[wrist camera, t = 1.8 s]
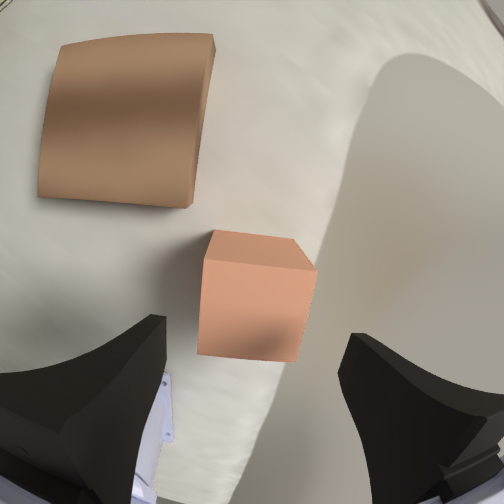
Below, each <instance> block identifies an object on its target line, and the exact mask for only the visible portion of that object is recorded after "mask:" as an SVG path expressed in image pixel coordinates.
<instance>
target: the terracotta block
mask: <svg viewBox="0 0 504 504" xmlns="http://www.w3.org/2000/svg"><path fill="white" fill-rule="evenodd" d="M317 274H318V271H317V270H316V268H315V267H314V266H313V264H312V263H311V262H310V260H309V259H308V258H307V256H306V255H305V254H304V252H303V251H302V250H301V248H300V247H299V246H298V244H297V243H296V242H295V240H294V239H288V238H280V237H272V236H264V235H256V234H248V233H239V232H231V231H222V230H214V232H213V235H212V238H211V240H210V243H209V246H208V249H207V251H206V254H205V257H204V263H203V275H202V287H201V300H200V315H199V330H198V348H197V354H200V355H208V356H217V357H226V358H237V359H248V360H262V361H279V362H296V360H297V356H298V352H299V348H300V345H301V341H302V337H303V333H304V329H305V325H306V321H307V317H308V313H309V309H310V304H311V300H312V296H313V291H314V287H315V283H316V278H317Z"/></svg>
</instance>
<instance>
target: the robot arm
mask: <svg viewBox="0 0 504 504" xmlns="http://www.w3.org/2000/svg"><path fill="white" fill-rule="evenodd" d="M166 360H167V354H166V316H159V315H153V314H150V315H149V316H147V317H146V318H144V319H143V320H141V321H140V322H139V323H137V324H136V325H134V326H133V327H131V328H130V329H128V330H127V331H125V332H124V333H122V334H121V335H119V336H118V337H116V338H114V339H113V340H111V341H109V342H107V343H106V344H104V345H102V346H101V347H99V348H97V349H95V350H93V351H91V352H88V353H86V354H84V355H82V356H79V357H77V358H74V359H71V360H68V361H65V362H62V363H59V364H56V365H53V366H49V367H44V368H40V369H35V370H29V371H23V372H12V373H0V504H157V503H156V497H157V491H155V490H153V489H152V487H153V484H154V480H155V475H156V470H157V466H158V461H159V456H160V452H161V447H162V442H169V443H170V442H173V439H174V436H173V422H172V405H171V380H170V375H169V374H168V373H166V372H164V369H165V365H166ZM338 377H339V381H340V386H341V389H342V393H343V396H344V398H345V400H346V403H347V406H348V408H349V411H350V413H351V415H352V418H353V420H354V423H355V425H356V428H357V430H358V433H359V435H360V438H361V441H362V445H363V449H364V453H365V457H366V461H367V467H368V472H369V477H370V485H371V493H372V504H504V455H503V456H502V457H501V458H499V457H498V455H497V453H499V451H500V447H499V446H498V442H499V441H500V440H501V439H502V438H503V436H504V395H503V394H495V393H488V392H483V391H479V390H474V389H471V388H467V387H463V386H461V385H458V384H455V383H452V382H450V381H447V380H445V379H442V378H440V377H438V376H436V375H434V374H431V373H429V372H427V371H426V370H424V369H422V368H420V367H418V366H417V365H415V364H413V363H411V362H410V361H408V360H407V359H405V358H403V357H402V356H400V355H399V354H397V353H396V352H394V351H393V350H391V349H390V348H388V347H387V346H385V345H383V344H382V343H381V342H379V341H377V340H376V339H374V338H372V337H371V336H369V335H367V334H365V333H351V336H350V339H349V342H348V345H347V348H346V350H345V354H344V356H343V359H342V362H341V364H340V368H339V370H338ZM162 381H164V382H166V383H164V382H162Z"/></svg>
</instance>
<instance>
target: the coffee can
mask: <svg viewBox="0 0 504 504" xmlns="http://www.w3.org/2000/svg"><path fill="white" fill-rule="evenodd" d="M11 1H12V0H0V11H1V10H2V9H3V8H4V7H6V6H7V5H8V4H9V3H10V2H11Z"/></svg>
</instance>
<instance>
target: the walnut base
mask: <svg viewBox="0 0 504 504" xmlns="http://www.w3.org/2000/svg"><path fill="white" fill-rule="evenodd" d="M215 52H216V49H215V43H214V38H213V34H204V33H156V34H139V35H127V36H117V37H109V38H102V39H95V40H89V41H83V42H78V43H73V44H68V45H63V46H61V48H60V52H59V55H58V59H57V62H56V66H55V70H54V74H53V78H52V82H51V86H50V91H49V96H48V101H47V106H46V112H45V118H44V124H43V131H42V139H41V148H40V159H39V172H38V197H52V198H68V199H83V200H96V201H109V202H121V203H132V204H143V205H154V206H164V207H174V208H183V209H186V208H187V207H188V206H190V205H191V204H192V203H193V198H194V189H195V180H196V172H197V164H198V156H199V149H200V141H201V134H202V127H203V121H204V114H205V108H206V102H207V96H208V90H209V84H210V79H211V73H212V68H213V63H214V57H215Z"/></svg>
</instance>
